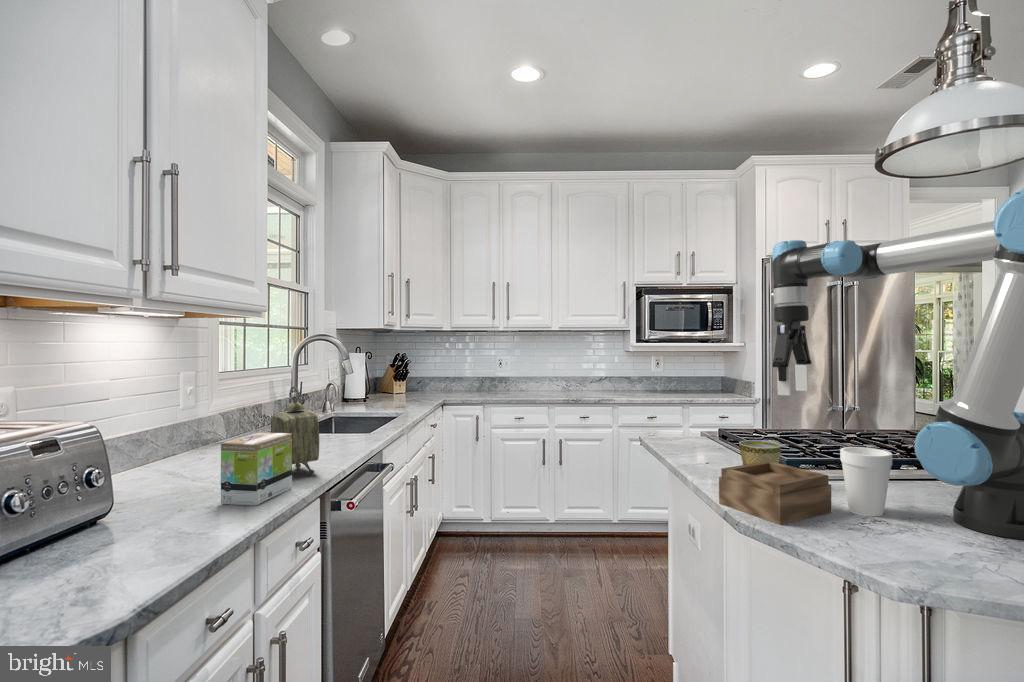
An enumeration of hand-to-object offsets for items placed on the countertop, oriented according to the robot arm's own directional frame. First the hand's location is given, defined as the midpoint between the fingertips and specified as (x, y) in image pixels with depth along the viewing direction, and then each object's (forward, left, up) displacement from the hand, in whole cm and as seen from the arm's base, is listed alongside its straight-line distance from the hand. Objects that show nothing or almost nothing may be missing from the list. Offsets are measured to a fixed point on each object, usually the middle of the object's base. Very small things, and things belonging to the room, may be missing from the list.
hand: (793, 392), depth 136 cm
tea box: (+59, +117, -24) cm, 134 cm away
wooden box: (-7, +15, -24) cm, 29 cm away
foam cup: (-18, 0, -24) cm, 30 cm away
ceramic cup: (+9, -1, -24) cm, 26 cm away
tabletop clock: (+78, +107, -24) cm, 135 cm away
